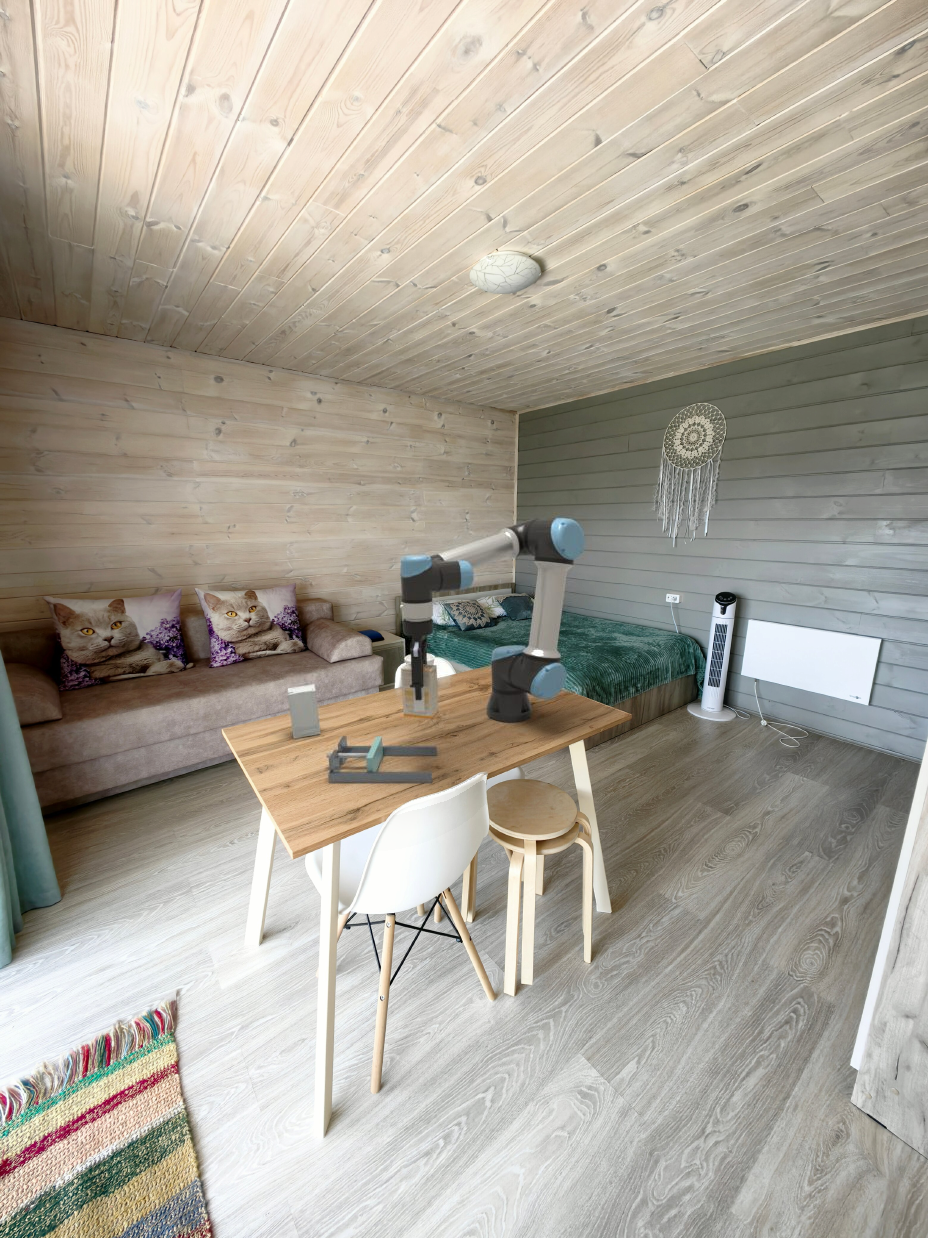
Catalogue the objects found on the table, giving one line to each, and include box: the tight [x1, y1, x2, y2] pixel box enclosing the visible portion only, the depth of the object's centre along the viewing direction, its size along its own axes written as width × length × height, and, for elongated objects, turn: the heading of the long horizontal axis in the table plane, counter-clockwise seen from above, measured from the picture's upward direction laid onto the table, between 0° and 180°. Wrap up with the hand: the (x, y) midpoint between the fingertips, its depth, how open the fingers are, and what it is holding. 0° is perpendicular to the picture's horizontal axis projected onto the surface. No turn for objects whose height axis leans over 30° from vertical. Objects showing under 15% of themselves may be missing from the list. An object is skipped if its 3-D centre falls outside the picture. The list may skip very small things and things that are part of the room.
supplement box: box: [400, 663, 439, 720], centre depth 123 cm, size 8×5×13 cm, turn 72°
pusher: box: [326, 736, 384, 772], centre depth 127 cm, size 14×12×6 cm
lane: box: [328, 735, 438, 784], centre depth 127 cm, size 26×15×6 cm, turn 88°
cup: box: [404, 653, 436, 665], centre depth 187 cm, size 12×12×12 cm
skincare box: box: [287, 683, 321, 740], centre depth 147 cm, size 8×6×15 cm
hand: (421, 705), depth 124 cm, fingers closed on supplement box, 6 cm apart
